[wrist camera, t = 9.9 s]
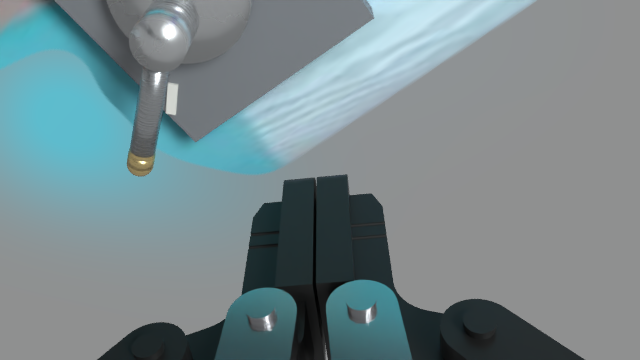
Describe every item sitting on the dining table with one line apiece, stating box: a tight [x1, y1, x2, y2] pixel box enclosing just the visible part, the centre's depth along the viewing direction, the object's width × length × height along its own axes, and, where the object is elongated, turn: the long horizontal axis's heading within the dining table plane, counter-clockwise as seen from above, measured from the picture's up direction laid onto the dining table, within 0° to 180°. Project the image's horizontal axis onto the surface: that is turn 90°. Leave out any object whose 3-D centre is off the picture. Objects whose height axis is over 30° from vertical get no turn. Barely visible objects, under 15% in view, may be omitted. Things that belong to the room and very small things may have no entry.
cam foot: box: [107, 0, 252, 176], centre depth 37 cm, size 16×9×6 cm, turn 162°
